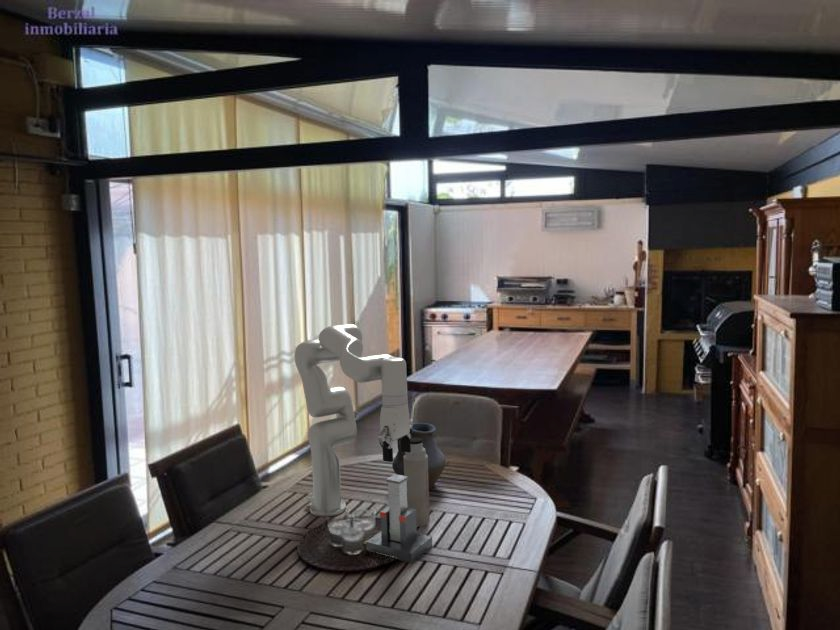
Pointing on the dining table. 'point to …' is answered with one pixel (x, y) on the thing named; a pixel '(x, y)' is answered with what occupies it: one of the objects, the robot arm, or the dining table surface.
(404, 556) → the base
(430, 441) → the pitcher
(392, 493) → the column
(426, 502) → the thermos bottle
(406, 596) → the dining table surface
